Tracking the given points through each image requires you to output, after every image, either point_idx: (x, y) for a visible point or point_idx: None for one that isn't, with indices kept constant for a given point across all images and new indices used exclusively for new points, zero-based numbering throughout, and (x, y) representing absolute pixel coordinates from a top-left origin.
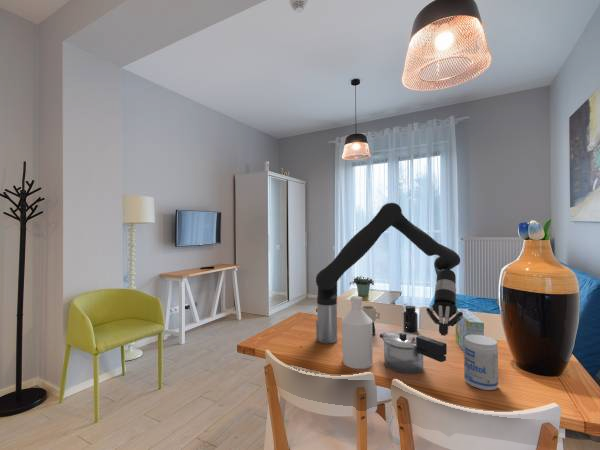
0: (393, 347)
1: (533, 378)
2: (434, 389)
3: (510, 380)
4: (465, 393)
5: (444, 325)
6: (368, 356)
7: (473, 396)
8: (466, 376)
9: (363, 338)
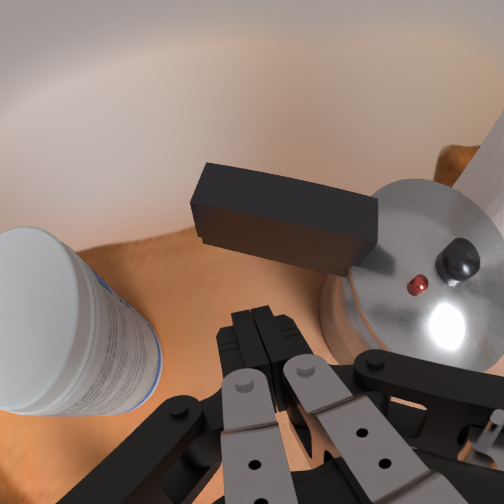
0: None
1: (8, 488)
2: None
3: (45, 443)
4: (146, 257)
5: (253, 353)
6: None
7: (125, 255)
8: (144, 318)
9: (487, 139)
